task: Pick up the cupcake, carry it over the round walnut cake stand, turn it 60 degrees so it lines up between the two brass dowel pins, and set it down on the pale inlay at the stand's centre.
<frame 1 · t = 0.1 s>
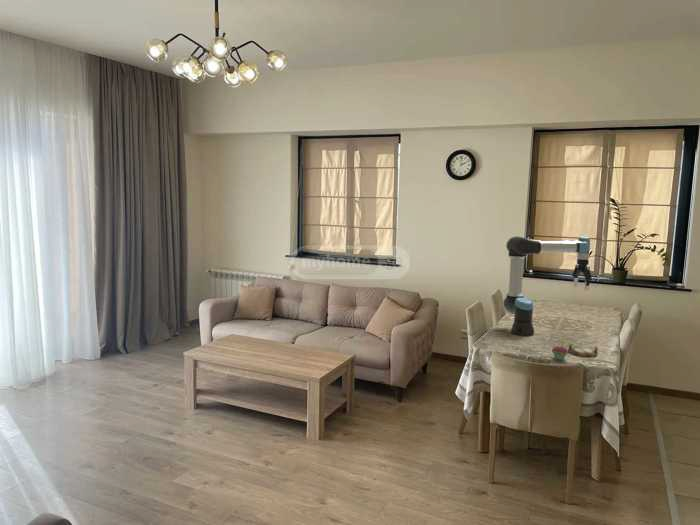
hand: (580, 288, 374), 28 cm above the table, fingers open, 13 cm apart
cupcake: (559, 359, 301), on the table
cake stand: (582, 353, 313), on the table
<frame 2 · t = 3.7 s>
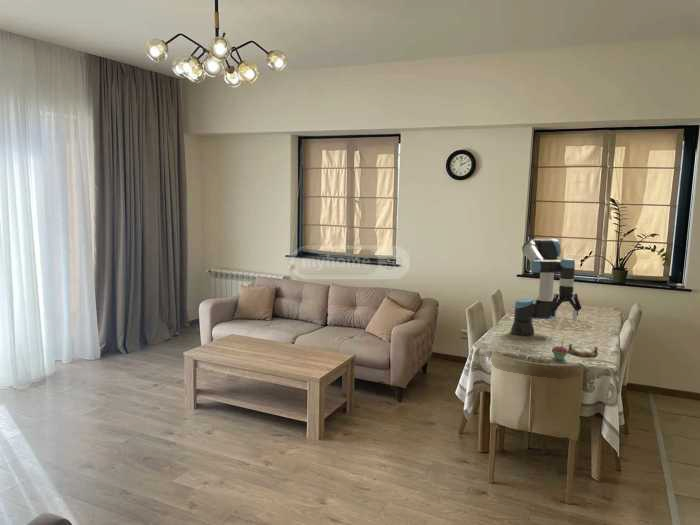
hand: (564, 321, 305), 20 cm above the table, fingers open, 13 cm apart
nothing on the table moved.
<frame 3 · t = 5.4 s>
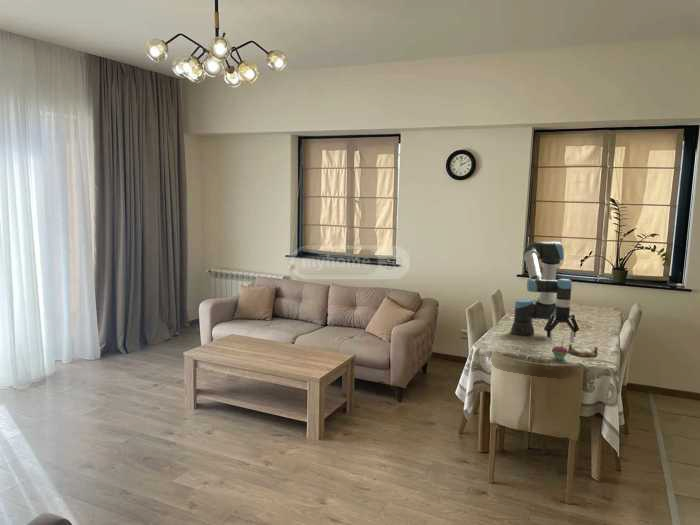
hand: (560, 342, 300), 9 cm above the table, fingers open, 13 cm apart
nothing on the table moved.
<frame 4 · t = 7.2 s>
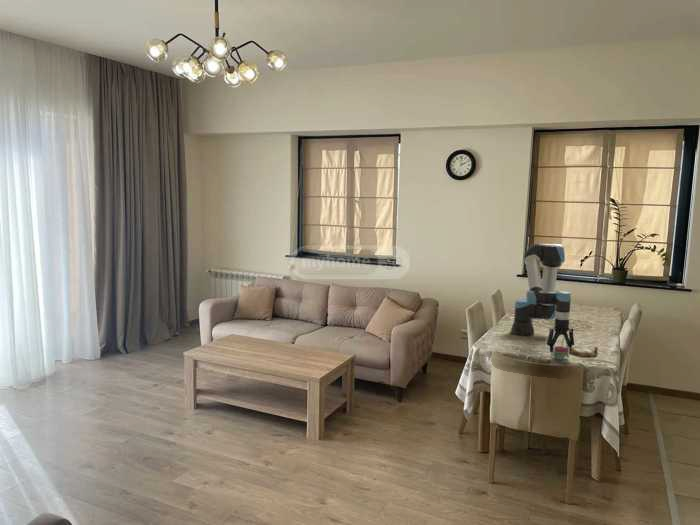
hand: (559, 357, 301), 1 cm above the table, fingers closed on cupcake, 8 cm apart
cupcake: (559, 359, 301), on the table, touching gripper
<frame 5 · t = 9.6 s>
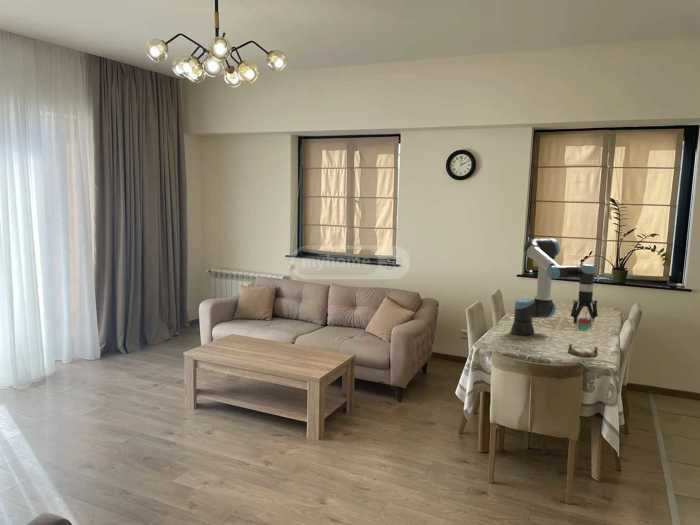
hand: (583, 328, 311), 15 cm above the table, fingers closed on cupcake, 8 cm apart
cupcake: (583, 330, 311), point 14 cm above the table, touching gripper
when the fingers open (4 cm above the table, at t = 12.4 s): cupcake drops 1 cm, resting on cake stand.
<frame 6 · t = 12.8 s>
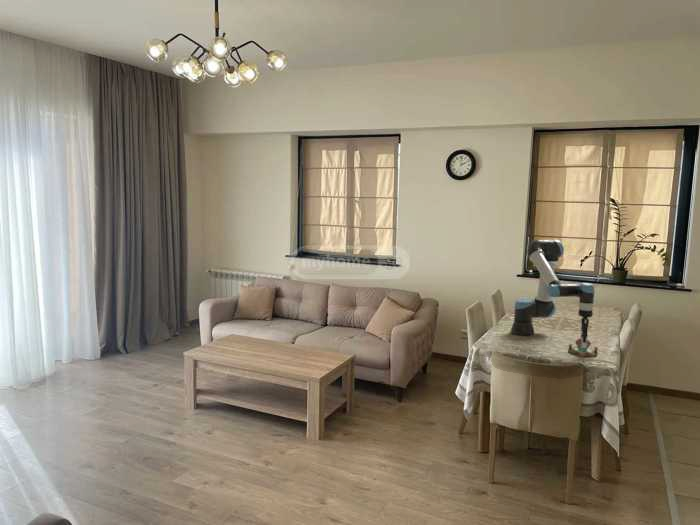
hand: (583, 344, 312), 5 cm above the table, fingers open, 13 cm apart
cupcake: (582, 350, 313), point 1 cm above the table, touching cake stand
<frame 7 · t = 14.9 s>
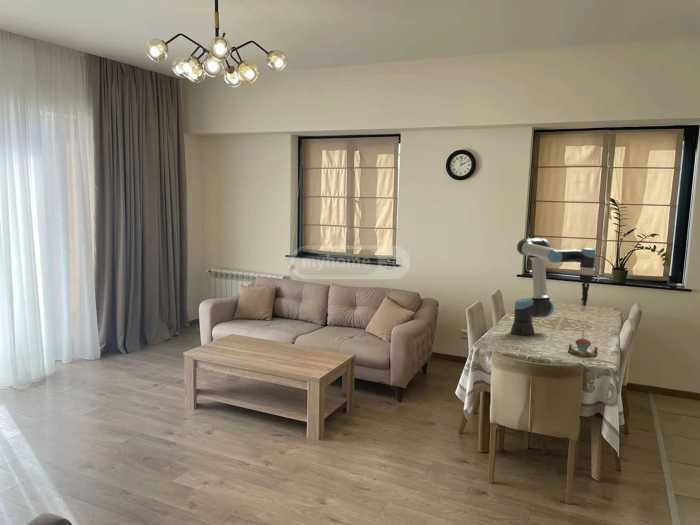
hand: (583, 308, 319), 25 cm above the table, fingers open, 13 cm apart
nothing on the table moved.
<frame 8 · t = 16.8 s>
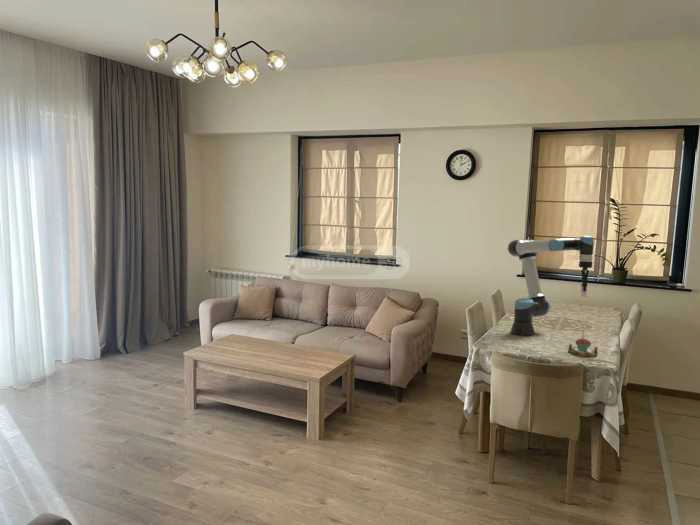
hand: (583, 294, 329), 32 cm above the table, fingers open, 13 cm apart
nothing on the table moved.
at the end: cupcake inside the target area on the cake stand (0.1 cm from its centre), point 1.3 cm above the cake stand's base; cupcake tilted 0°; the gripper is holding nothing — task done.
